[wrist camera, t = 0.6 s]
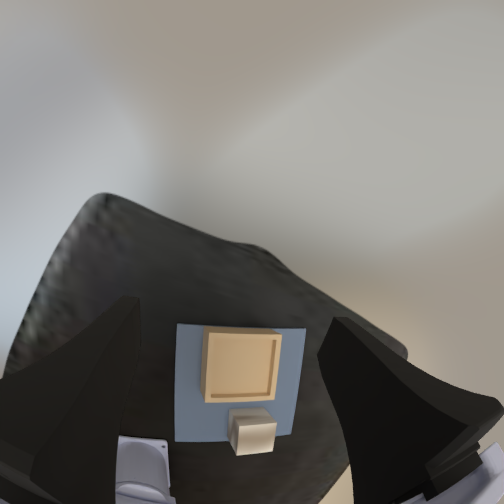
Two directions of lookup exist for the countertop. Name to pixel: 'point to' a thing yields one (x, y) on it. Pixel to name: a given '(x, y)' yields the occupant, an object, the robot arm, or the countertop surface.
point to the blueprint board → (218, 413)
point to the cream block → (251, 430)
